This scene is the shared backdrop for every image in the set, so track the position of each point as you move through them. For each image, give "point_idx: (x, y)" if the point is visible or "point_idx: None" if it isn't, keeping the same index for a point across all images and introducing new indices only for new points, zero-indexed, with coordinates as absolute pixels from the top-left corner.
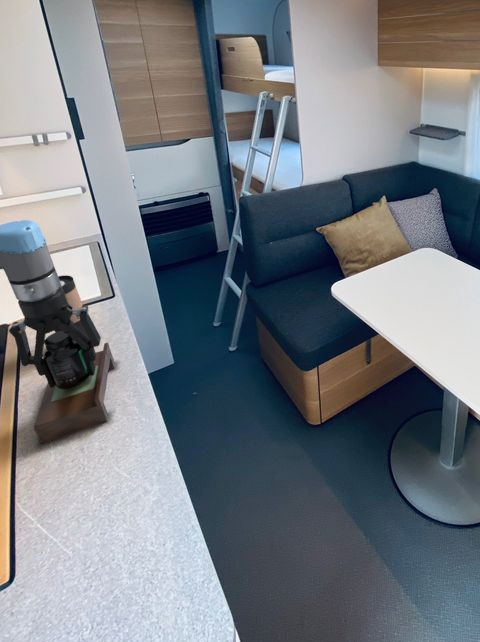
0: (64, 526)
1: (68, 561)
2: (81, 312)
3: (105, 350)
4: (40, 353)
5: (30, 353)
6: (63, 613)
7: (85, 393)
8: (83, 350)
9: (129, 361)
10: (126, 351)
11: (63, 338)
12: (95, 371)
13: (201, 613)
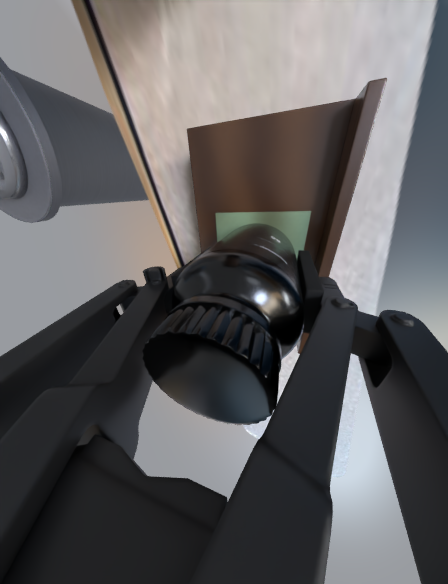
0: None
1: None
2: None
3: (358, 163)
4: None
5: (123, 297)
6: (264, 425)
7: None
8: (304, 315)
9: (391, 131)
10: (406, 37)
11: (239, 416)
12: (302, 237)
13: (335, 466)
